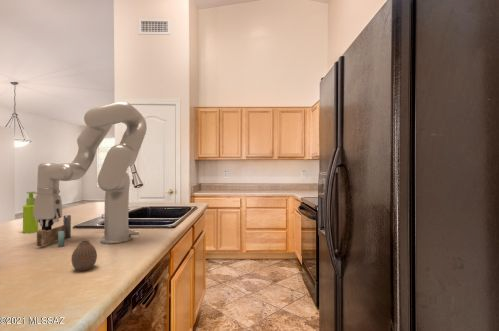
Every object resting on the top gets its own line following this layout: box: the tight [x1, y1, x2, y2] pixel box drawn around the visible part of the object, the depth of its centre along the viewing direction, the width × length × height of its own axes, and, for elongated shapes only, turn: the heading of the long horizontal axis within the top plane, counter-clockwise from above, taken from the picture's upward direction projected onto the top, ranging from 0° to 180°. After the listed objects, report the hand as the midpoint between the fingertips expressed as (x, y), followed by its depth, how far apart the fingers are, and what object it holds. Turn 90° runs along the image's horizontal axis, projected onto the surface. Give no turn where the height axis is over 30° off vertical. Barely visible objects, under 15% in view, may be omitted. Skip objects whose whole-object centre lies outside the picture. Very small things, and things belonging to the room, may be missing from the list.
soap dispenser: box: [22, 191, 39, 234], centre depth 135 cm, size 6×7×20 cm
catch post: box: [57, 231, 65, 248], centre depth 111 cm, size 2×2×6 cm
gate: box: [36, 225, 66, 247], centre depth 115 cm, size 15×2×6 cm, turn 2°
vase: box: [71, 239, 98, 272], centre depth 87 cm, size 7×7×9 cm
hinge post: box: [62, 214, 72, 239], centre depth 125 cm, size 3×3×10 cm
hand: (46, 235), depth 116 cm, fingers closed
